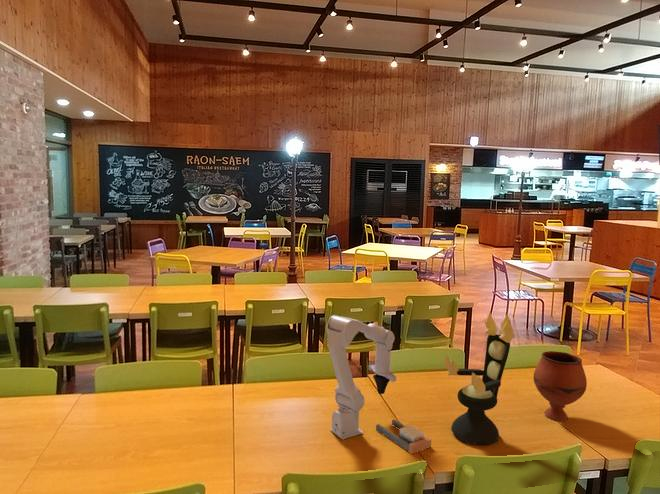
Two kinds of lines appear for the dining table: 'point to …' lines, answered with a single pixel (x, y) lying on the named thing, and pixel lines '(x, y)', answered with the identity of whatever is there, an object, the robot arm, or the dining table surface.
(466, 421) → the spiked throne chair
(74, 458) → the dining table surface
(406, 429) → the lock block
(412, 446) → the guide rails
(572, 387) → the goblet
